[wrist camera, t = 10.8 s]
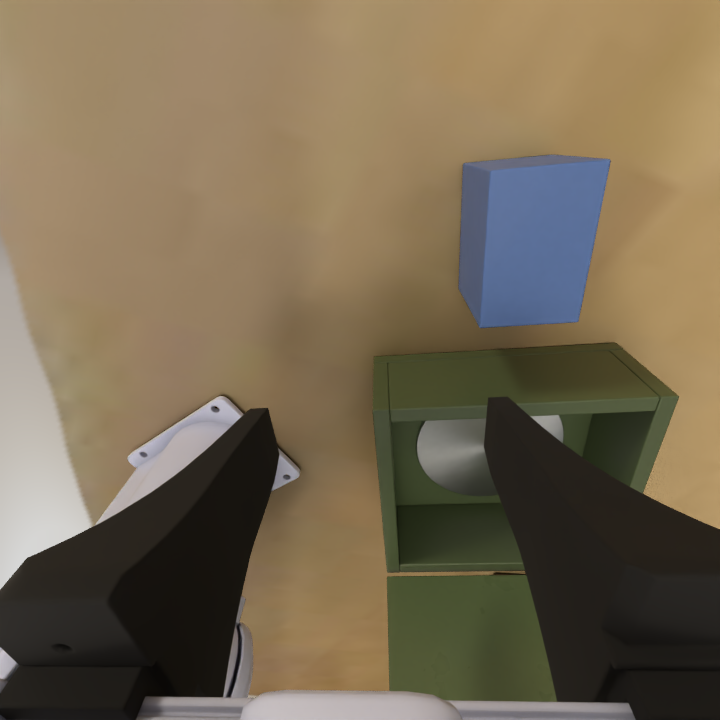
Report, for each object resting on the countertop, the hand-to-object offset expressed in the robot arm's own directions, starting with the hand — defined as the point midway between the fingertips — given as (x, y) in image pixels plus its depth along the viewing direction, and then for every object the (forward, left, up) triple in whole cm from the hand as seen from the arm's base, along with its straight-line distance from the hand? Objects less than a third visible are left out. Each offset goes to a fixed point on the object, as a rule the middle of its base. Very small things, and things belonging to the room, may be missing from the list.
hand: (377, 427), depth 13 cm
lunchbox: (+1, -11, -10) cm, 15 cm away
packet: (+8, 0, -10) cm, 12 cm away
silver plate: (+1, -11, -10) cm, 15 cm away
